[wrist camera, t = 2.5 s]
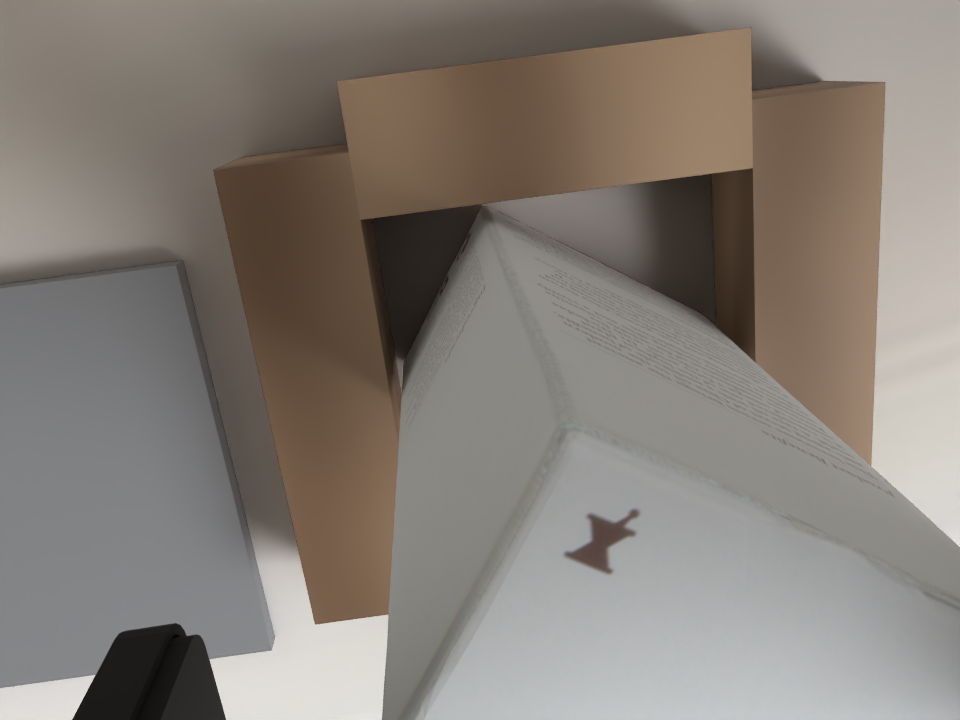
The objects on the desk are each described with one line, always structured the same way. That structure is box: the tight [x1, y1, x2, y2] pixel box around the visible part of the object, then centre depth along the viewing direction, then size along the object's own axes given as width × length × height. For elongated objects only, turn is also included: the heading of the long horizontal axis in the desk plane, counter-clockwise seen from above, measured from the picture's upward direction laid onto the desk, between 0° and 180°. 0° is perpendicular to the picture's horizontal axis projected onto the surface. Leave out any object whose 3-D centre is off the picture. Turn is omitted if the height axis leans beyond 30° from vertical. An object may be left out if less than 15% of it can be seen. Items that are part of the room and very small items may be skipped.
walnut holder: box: [213, 27, 885, 624], centre depth 18 cm, size 12×12×2 cm
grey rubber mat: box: [0, 260, 275, 688], centre depth 20 cm, size 10×10×1 cm
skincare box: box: [382, 206, 960, 720], centre depth 14 cm, size 6×4×12 cm
